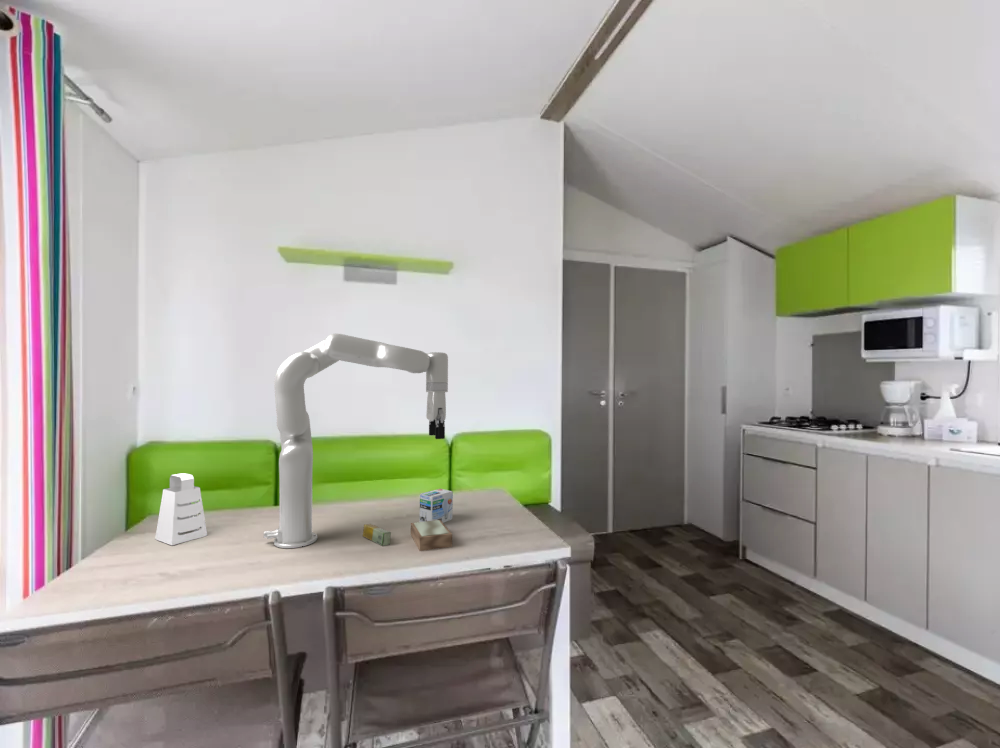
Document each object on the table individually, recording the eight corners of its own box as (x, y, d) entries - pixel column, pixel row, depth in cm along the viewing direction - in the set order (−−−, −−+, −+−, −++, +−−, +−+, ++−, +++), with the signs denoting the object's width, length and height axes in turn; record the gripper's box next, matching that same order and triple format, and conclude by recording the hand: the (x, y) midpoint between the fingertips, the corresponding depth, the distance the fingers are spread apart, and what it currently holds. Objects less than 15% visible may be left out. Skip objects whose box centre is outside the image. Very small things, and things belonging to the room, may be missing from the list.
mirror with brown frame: (419, 551, 143) (419, 537, 143) (410, 535, 157) (410, 522, 157) (452, 547, 147) (452, 533, 147) (440, 531, 161) (440, 519, 161)
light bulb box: (432, 528, 165) (432, 496, 165) (418, 524, 169) (418, 493, 169) (453, 520, 173) (453, 490, 173) (439, 517, 177) (440, 488, 177)
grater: (190, 529, 161) (190, 470, 161) (207, 535, 156) (207, 474, 156) (155, 539, 152) (155, 476, 152) (171, 545, 147) (172, 480, 147)
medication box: (390, 545, 149) (391, 532, 149) (382, 546, 147) (384, 533, 147) (369, 535, 157) (370, 522, 157) (361, 536, 155) (363, 523, 155)
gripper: (421, 387, 174) (420, 434, 174) (431, 388, 157) (431, 440, 158) (441, 387, 176) (441, 433, 176) (454, 388, 160) (453, 439, 160)
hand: (436, 436), depth 167 cm, fingers open, 9 cm apart
